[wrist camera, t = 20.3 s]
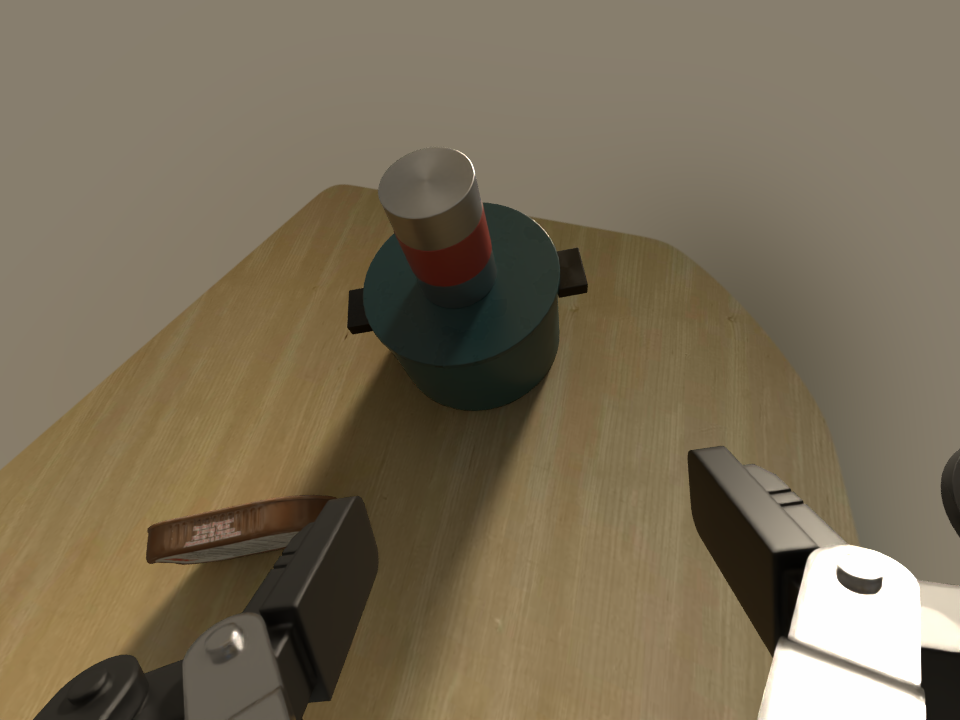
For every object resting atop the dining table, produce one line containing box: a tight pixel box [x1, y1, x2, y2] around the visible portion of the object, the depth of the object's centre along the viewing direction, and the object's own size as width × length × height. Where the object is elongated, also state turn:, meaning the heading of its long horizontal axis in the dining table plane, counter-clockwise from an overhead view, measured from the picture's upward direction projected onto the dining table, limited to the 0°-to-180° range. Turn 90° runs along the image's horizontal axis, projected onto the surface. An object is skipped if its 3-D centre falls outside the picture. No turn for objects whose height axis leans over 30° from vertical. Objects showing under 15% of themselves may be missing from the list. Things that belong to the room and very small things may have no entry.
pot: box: [347, 203, 588, 411], centre depth 43 cm, size 21×17×10 cm
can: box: [378, 147, 497, 309], centre depth 35 cm, size 6×6×10 cm
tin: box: [146, 495, 337, 565], centre depth 38 cm, size 15×3×8 cm, turn 99°
